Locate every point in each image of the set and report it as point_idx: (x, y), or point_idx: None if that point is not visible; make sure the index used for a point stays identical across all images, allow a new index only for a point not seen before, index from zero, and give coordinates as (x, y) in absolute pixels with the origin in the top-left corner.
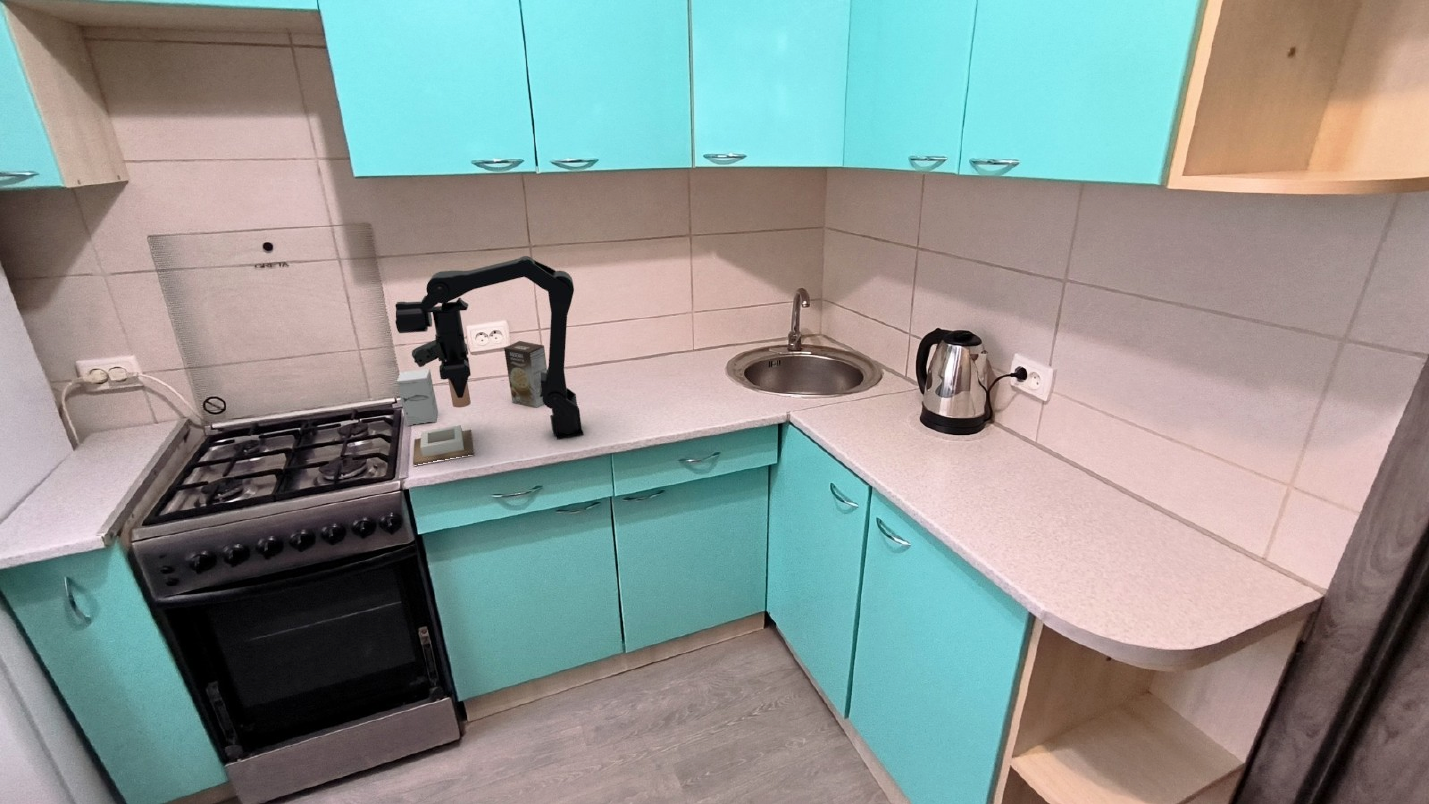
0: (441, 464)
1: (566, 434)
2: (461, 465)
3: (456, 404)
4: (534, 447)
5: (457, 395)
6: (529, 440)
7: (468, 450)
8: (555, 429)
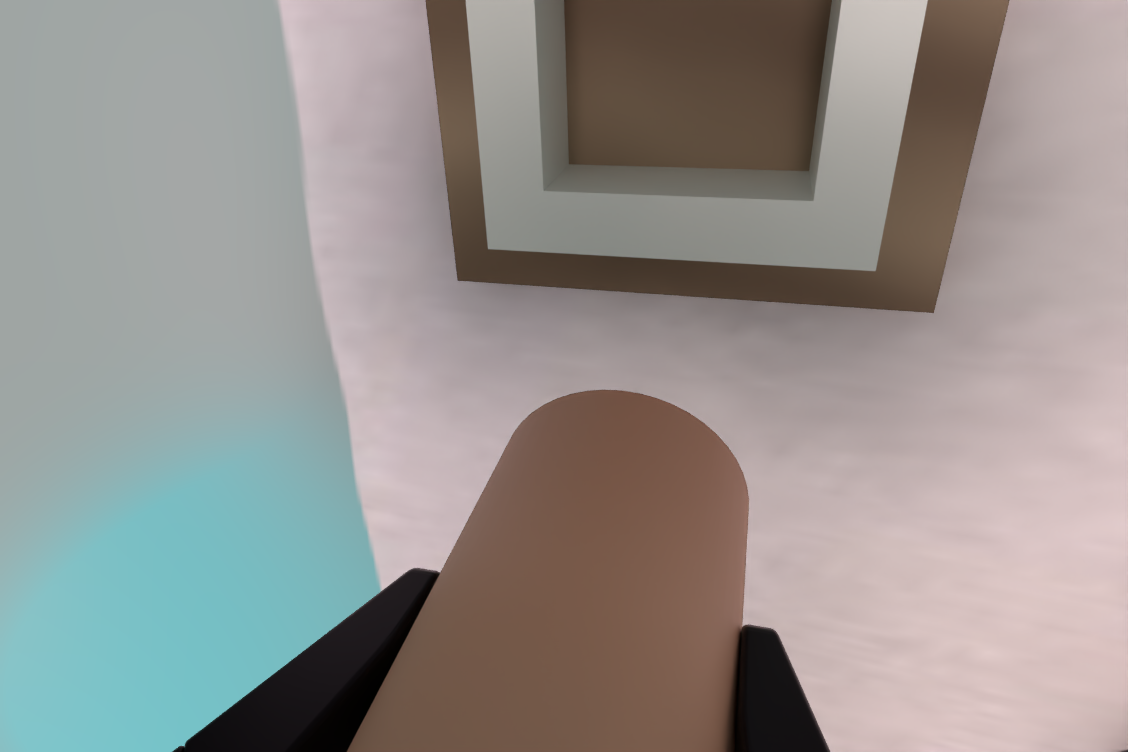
0: (394, 10)
1: None
2: (342, 169)
3: (501, 456)
4: None
5: (374, 601)
6: None
7: (491, 250)
8: None
